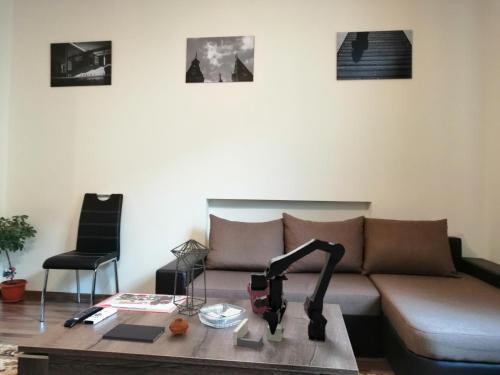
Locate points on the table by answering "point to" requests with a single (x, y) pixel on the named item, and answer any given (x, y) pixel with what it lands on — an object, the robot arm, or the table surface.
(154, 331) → the notebook
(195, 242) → the geometric lantern
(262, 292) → the plant pot
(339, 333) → the table surface
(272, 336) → the cabinet block
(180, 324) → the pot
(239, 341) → the cleat board
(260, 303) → the robot arm
